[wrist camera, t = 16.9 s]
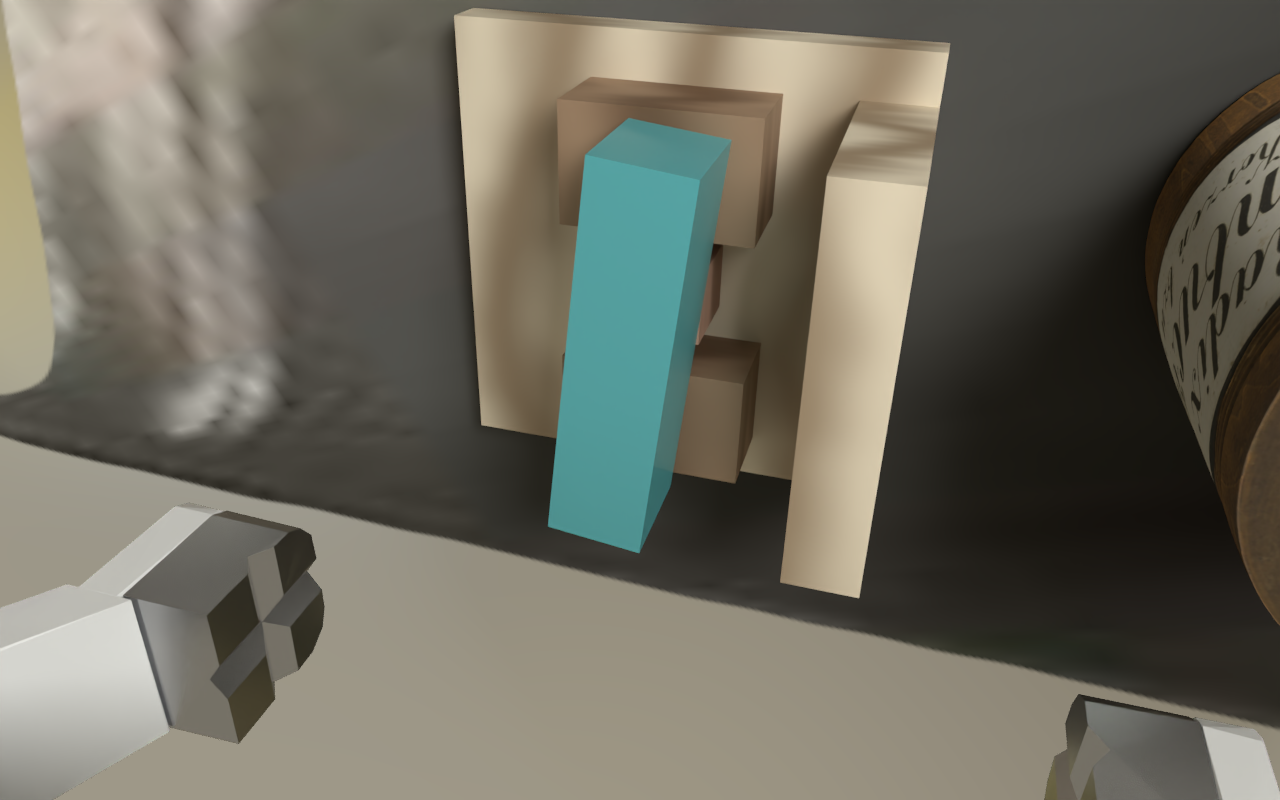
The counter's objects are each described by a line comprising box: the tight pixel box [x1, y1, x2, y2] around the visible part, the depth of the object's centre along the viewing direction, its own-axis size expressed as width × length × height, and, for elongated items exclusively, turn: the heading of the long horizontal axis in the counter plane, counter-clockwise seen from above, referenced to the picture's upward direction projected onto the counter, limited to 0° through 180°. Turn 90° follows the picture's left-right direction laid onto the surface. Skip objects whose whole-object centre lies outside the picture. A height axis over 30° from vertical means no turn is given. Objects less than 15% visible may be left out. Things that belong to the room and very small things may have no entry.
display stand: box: [454, 8, 950, 598], centre depth 42 cm, size 20×20×12 cm
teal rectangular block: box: [548, 118, 732, 553], centre depth 40 cm, size 4×16×5 cm, turn 172°
